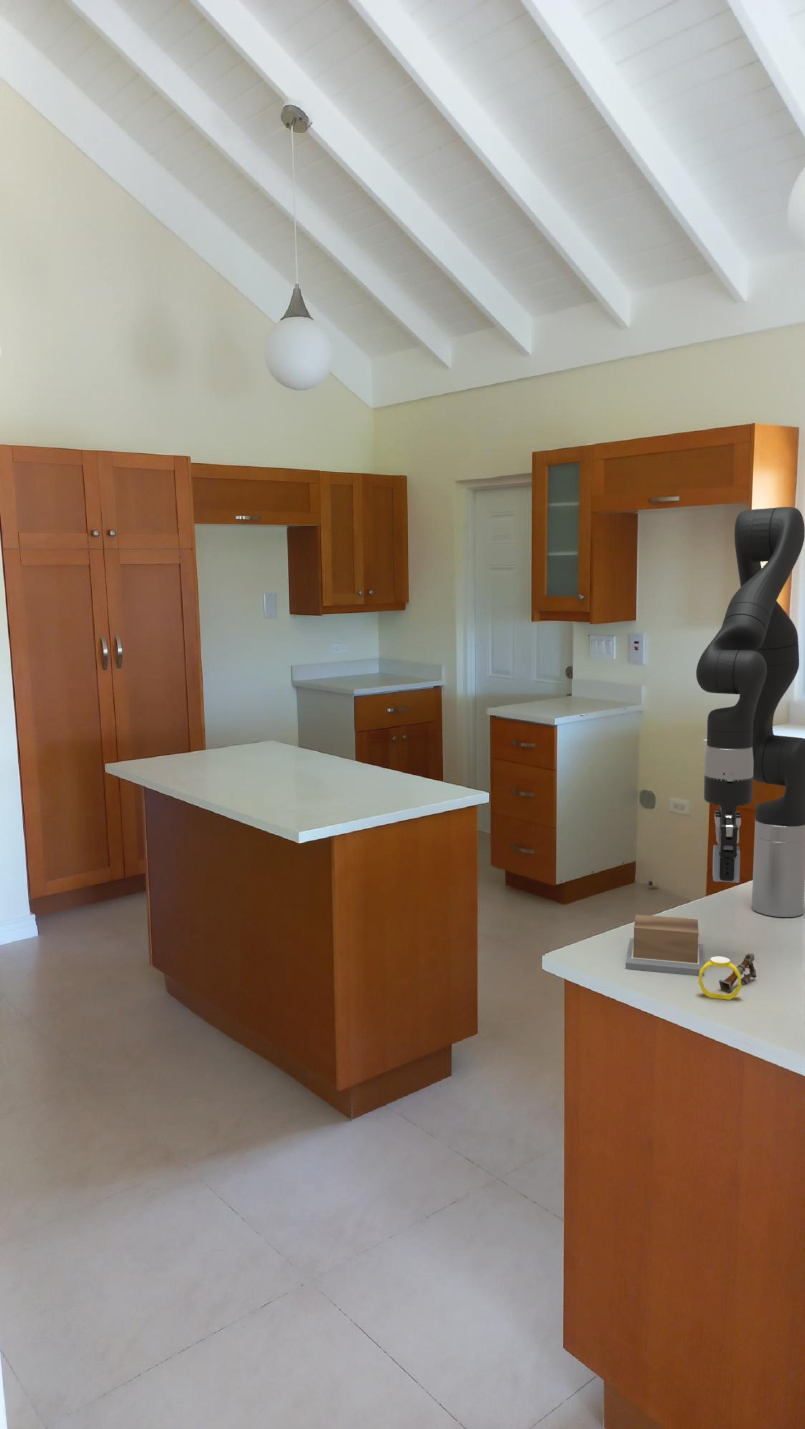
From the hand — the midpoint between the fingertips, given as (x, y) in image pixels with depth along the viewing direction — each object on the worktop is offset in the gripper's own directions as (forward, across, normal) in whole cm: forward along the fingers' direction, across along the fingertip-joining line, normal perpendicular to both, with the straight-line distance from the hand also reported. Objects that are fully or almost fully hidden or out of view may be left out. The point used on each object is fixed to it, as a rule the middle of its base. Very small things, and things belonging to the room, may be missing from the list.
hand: (726, 875), depth 164 cm
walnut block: (+12, +4, -9) cm, 16 cm away
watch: (+14, +18, -1) cm, 23 cm away
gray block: (0, 0, 0) cm, 0 cm away
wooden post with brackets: (+14, +13, +2) cm, 19 cm away
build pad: (+13, +4, -9) cm, 17 cm away
